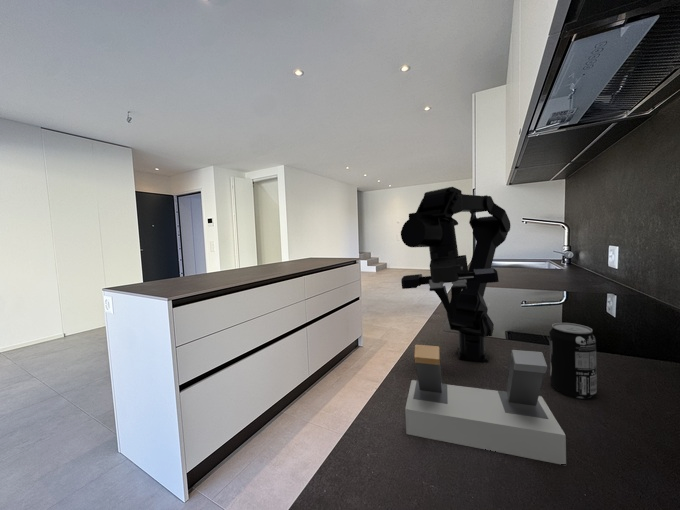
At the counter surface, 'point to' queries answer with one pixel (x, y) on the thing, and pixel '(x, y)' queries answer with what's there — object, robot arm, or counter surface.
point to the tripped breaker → (428, 368)
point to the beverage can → (573, 360)
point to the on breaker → (525, 377)
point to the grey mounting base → (485, 422)
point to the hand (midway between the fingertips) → (452, 319)
